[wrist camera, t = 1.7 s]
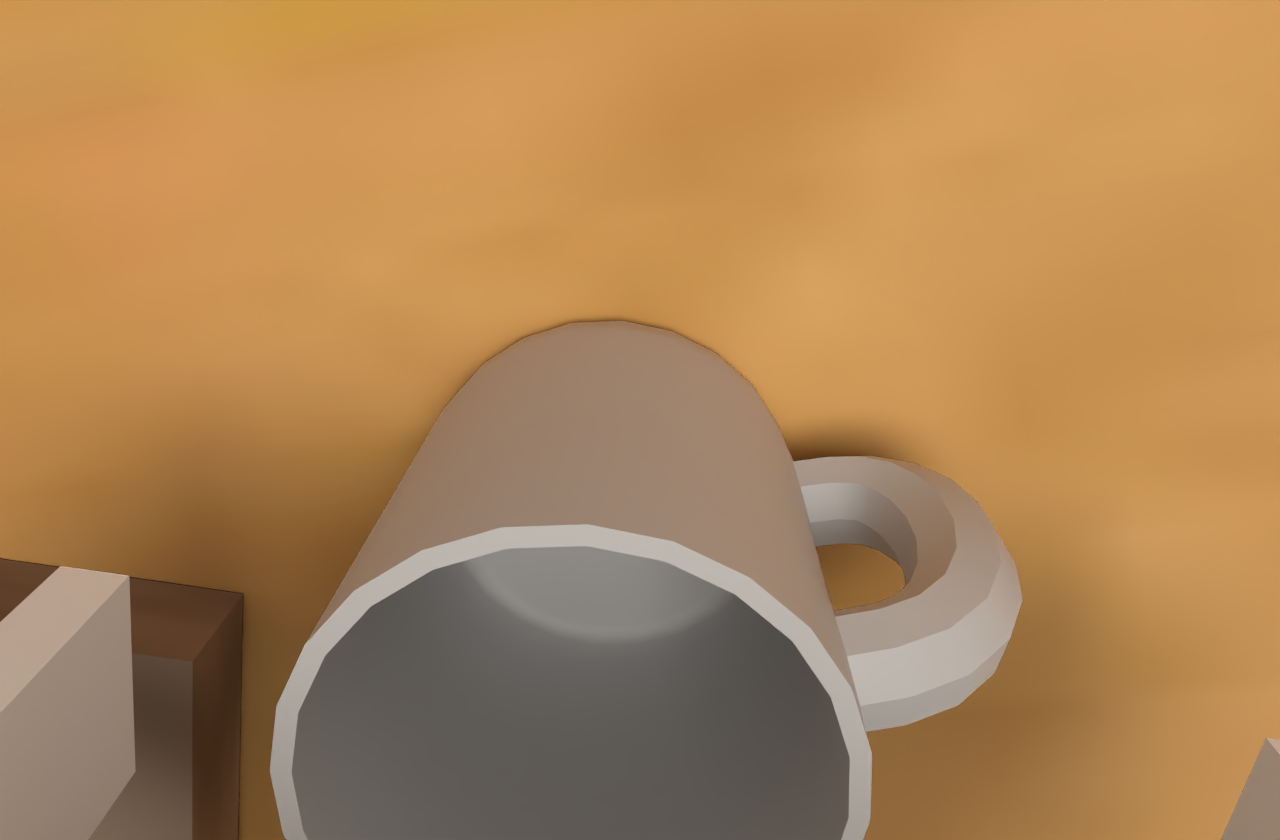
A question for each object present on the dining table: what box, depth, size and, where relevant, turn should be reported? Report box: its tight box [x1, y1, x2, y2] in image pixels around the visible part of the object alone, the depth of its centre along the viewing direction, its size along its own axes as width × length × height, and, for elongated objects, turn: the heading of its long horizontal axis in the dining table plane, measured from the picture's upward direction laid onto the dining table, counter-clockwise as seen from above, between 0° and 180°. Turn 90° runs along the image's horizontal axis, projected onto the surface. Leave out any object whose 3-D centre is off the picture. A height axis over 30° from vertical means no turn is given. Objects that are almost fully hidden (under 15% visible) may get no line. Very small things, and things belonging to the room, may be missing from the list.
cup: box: [270, 321, 1023, 840], centre depth 17 cm, size 7×10×9 cm
